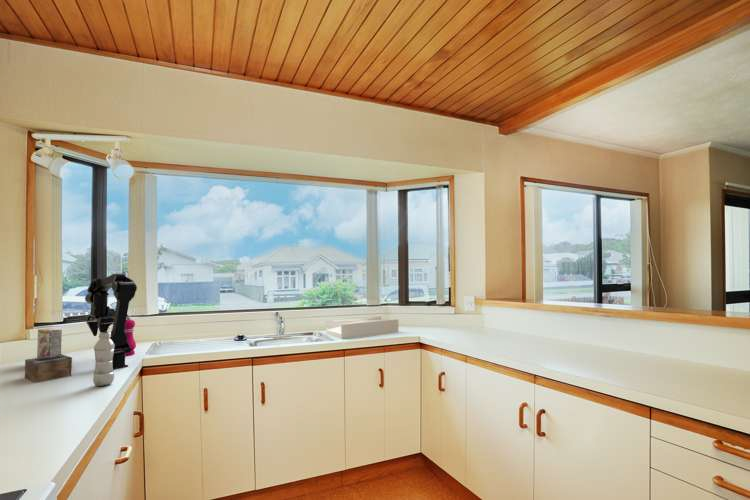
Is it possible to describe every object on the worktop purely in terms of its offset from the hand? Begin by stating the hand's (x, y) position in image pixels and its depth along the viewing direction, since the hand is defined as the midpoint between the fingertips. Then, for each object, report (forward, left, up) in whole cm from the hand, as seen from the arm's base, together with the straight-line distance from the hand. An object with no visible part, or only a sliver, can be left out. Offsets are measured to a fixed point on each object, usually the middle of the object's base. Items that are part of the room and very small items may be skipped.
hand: (99, 336), depth 186 cm
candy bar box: (+15, +15, -12) cm, 24 cm away
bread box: (-60, -136, -13) cm, 149 cm away
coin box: (-13, +23, -12) cm, 29 cm away
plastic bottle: (-47, +16, -12) cm, 51 cm away
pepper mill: (+5, -15, -12) cm, 20 cm away
